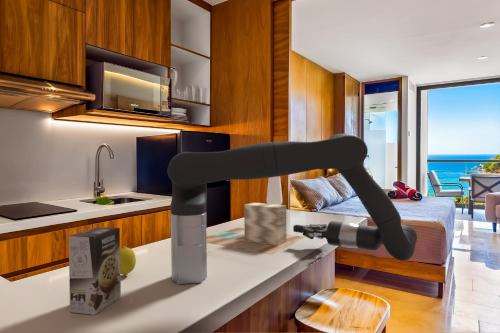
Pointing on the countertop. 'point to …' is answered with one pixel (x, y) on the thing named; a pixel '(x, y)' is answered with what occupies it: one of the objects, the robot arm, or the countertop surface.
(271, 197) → the champagne flute
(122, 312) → the countertop surface
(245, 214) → the birch block
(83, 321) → the countertop surface
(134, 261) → the lemon
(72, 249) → the grey snack box
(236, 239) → the trap deck
